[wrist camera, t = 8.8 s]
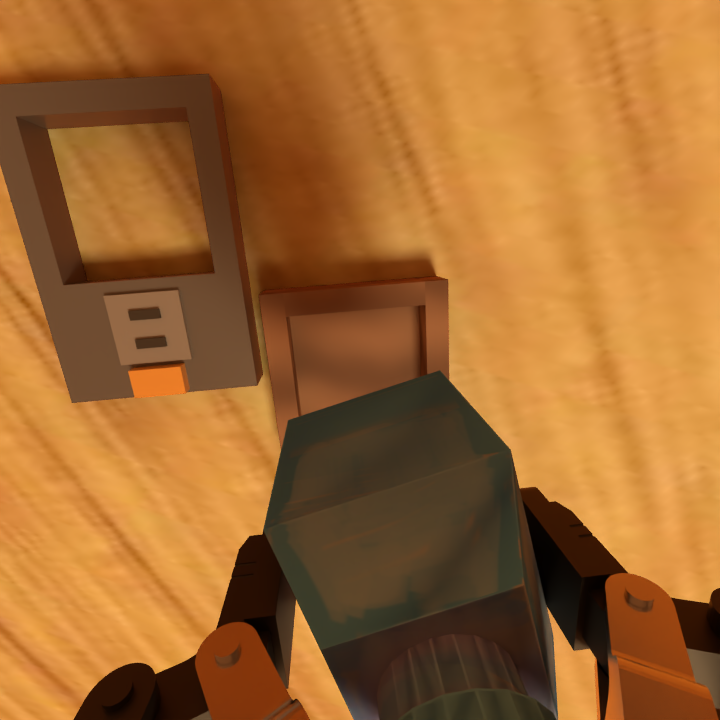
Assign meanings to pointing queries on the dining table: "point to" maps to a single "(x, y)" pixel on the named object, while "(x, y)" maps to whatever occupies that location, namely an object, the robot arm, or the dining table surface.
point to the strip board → (144, 294)
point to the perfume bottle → (414, 557)
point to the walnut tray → (351, 340)
